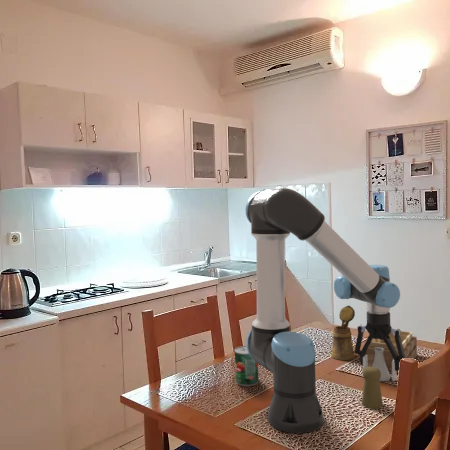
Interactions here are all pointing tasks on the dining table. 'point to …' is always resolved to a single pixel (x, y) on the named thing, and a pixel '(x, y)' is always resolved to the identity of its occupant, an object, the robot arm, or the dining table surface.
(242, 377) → the canned tomato
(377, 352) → the flask
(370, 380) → the cork
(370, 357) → the wooden drawer box
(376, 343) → the pine crate
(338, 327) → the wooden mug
